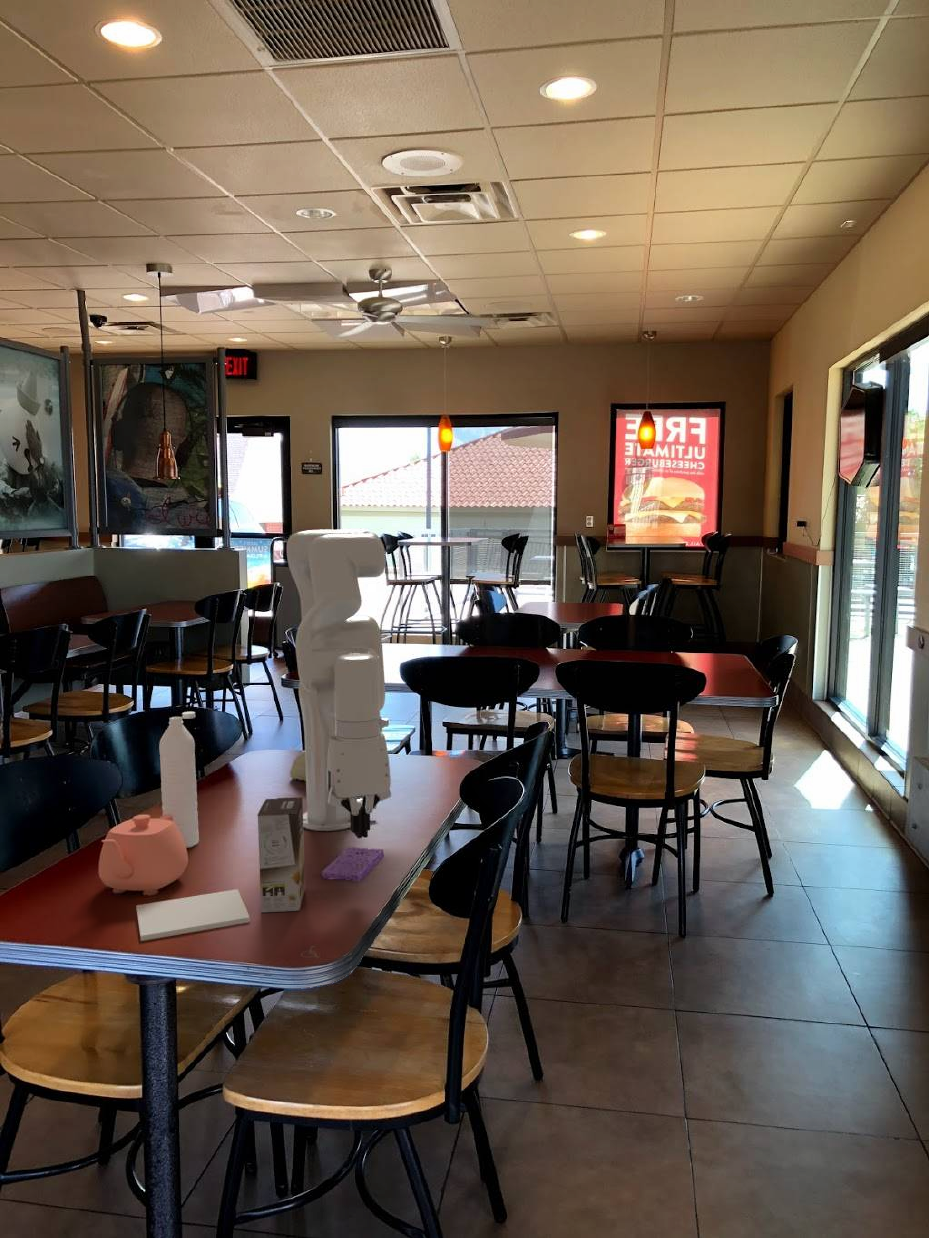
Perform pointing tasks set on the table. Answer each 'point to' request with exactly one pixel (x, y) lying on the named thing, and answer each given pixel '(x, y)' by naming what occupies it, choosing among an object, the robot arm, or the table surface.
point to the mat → (191, 914)
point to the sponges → (353, 864)
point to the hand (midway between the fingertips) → (360, 835)
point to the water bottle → (180, 778)
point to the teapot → (143, 855)
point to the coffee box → (281, 854)
